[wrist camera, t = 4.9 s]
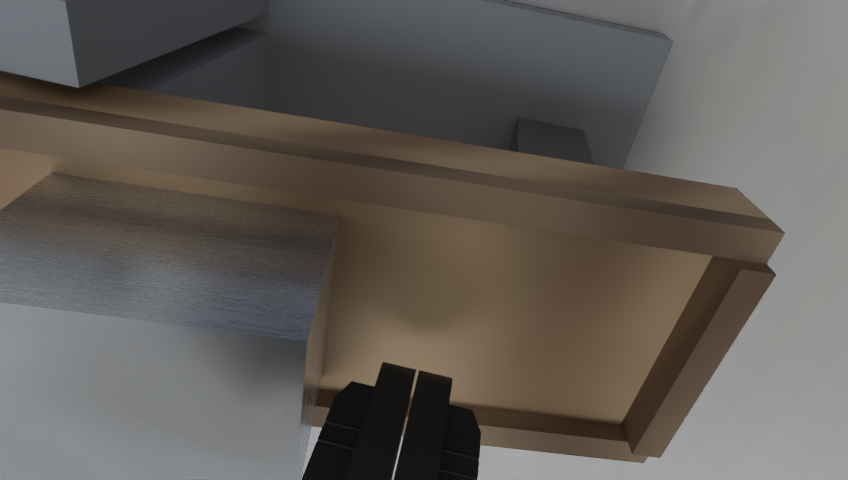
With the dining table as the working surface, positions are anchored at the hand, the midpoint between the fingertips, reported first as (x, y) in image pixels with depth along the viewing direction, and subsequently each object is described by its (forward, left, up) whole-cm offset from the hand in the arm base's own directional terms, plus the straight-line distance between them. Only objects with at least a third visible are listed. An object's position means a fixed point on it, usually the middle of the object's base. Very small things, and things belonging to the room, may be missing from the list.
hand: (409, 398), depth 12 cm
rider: (+4, -4, -2) cm, 6 cm away
